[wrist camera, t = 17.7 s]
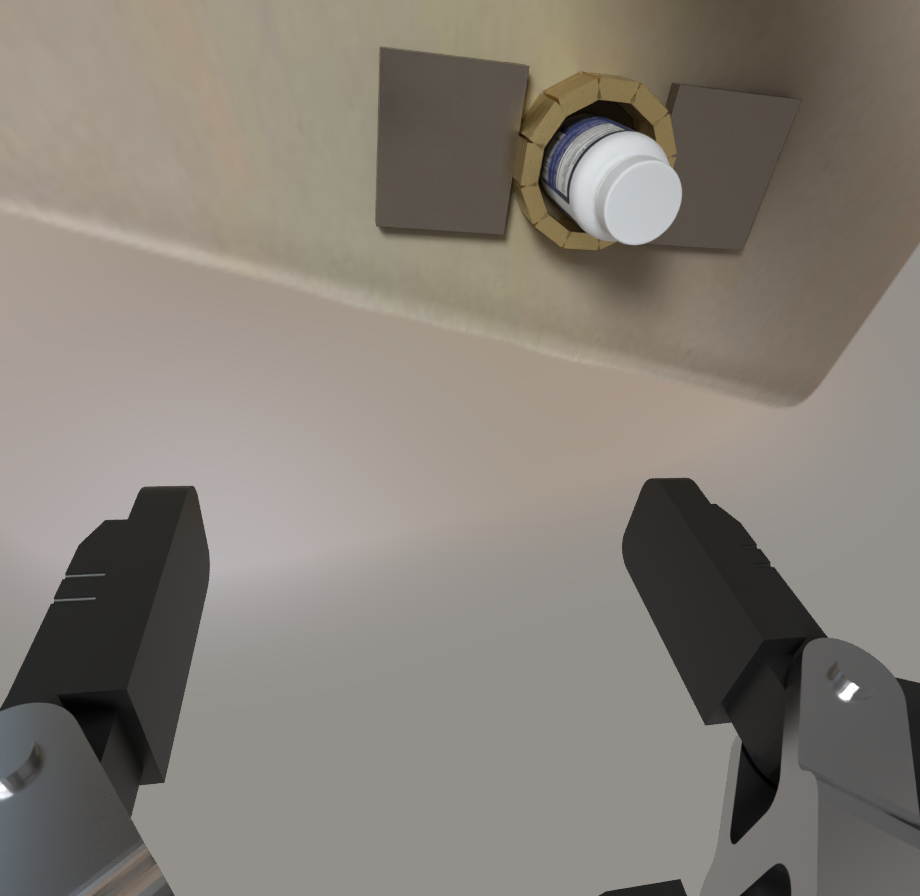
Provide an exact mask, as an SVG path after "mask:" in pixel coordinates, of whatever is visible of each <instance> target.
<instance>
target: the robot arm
mask: <svg viewBox="0 0 920 896" xmlns="http://www.w3.org/2000/svg"><path fill="white" fill-rule="evenodd" d="M756 546H757V544H756V543H755V541H754V540H753V539H752V538H751V536H750V535H749V534H748V532H747V531H746V530H745V529H744V527H743V526H742V524H741V523H740V522H739V521H737V520H736V519H735V518H733V517H732V516H731V515H730V514H728V513H727V512H726V511H724V510H723V509H722V508H721V507H719V506H718V505H717V504H710V502H709V501H708V499H707V498H706V497H705V495H704V494H703V493H702V491H701V490H700V489H699V487H698V486H697V484H696V483H695V482H694V481H693V480H691V479H689V478H652V479H649V480H647V481H646V482H645V483H644V485H643V487H642V489H641V492H640V494H639V497H638V500H637V502H636V505H635V507H634V510H633V513H632V515H631V518H630V520H629V523H628V525H627V528H626V531H625V533H624V536H623V542H622V553H623V559H624V563H625V566H626V568H627V570H628V572H629V574H630V576H631V578H632V580H633V582H634V584H635V586H636V588H637V590H638V592H639V594H640V596H641V598H642V600H643V602H644V604H645V606H646V608H647V610H648V612H649V614H650V616H651V618H652V620H653V622H654V624H655V626H656V628H657V630H658V632H659V634H660V636H661V638H662V640H663V642H664V644H665V646H666V648H667V650H668V652H669V654H670V656H671V658H672V660H673V662H674V664H675V666H676V668H677V670H678V672H679V674H680V676H681V678H682V680H683V682H684V684H685V686H686V688H687V690H688V692H689V694H690V696H691V698H692V700H693V702H694V704H695V706H696V708H697V709H698V712H699V714H700V715H701V718H702V720H703V721H704V723H705V725H713V724H722V723H730V722H732V724H733V726H734V728H735V729H736V731H737V733H738V735H737V736H736V738H735V739H734V741H733V744H732V748H731V754H730V761H729V768H728V775H727V782H726V789H725V796H724V803H723V810H722V817H721V824H720V831H719V838H718V845H717V849H716V853H715V857H714V860H713V863H712V865H711V867H710V869H709V872H708V874H707V876H706V878H705V881H704V884H703V886H702V889H701V893H700V896H920V683H917V682H913V681H908V680H903V679H899V678H895V677H894V676H893V675H892V673H891V672H890V671H889V670H888V669H887V668H886V667H885V666H884V665H883V664H882V663H881V662H880V661H879V660H877V659H876V658H875V657H873V656H872V655H871V654H869V653H868V652H866V651H864V650H863V649H861V648H859V647H857V646H855V645H853V644H851V643H848V642H846V641H842V640H839V639H834V638H828V637H827V636H826V635H825V633H824V632H823V631H822V629H821V628H820V627H819V625H818V624H817V623H816V622H815V620H814V619H813V618H812V616H811V615H810V614H809V613H808V611H807V610H806V608H805V607H804V606H803V605H802V603H801V602H800V601H799V599H798V598H797V597H796V595H795V594H794V593H793V591H792V590H791V589H790V587H789V586H788V585H787V583H786V582H785V581H784V580H783V579H782V577H781V576H780V574H779V573H778V572H777V571H776V569H775V568H774V567H771V566H770V561H769V560H768V559H767V557H766V556H765V555H764V553H763V552H762V551H761V549H757V547H756ZM209 570H210V562H209V550H208V545H207V540H206V535H205V530H204V525H203V520H202V515H201V510H200V505H199V500H198V495H197V492H196V489H195V488H194V486H158V487H143V488H142V489H141V490H140V491H139V493H138V495H137V498H136V500H135V503H134V505H133V508H132V510H131V513H130V515H129V518H128V519H127V520H105V521H104V522H103V523H102V524H101V525H100V526H99V527H98V528H97V529H95V530H94V531H93V532H92V533H91V534H90V535H89V536H88V537H87V538H86V539H85V540H84V541H83V542H82V543H81V544H80V545H79V546H78V548H77V550H76V552H75V554H74V557H73V559H72V561H71V563H70V565H69V567H68V569H67V571H66V573H65V574H66V578H65V579H63V580H62V582H61V584H60V586H59V588H58V590H57V592H56V594H55V597H54V604H51V605H50V607H49V609H48V612H47V614H46V616H45V618H44V620H43V622H42V624H41V626H40V628H39V630H38V632H37V635H36V637H35V639H34V641H33V643H32V645H31V647H30V649H29V651H28V654H27V656H26V658H25V660H24V662H23V664H22V666H21V668H20V670H19V672H18V675H17V677H16V679H15V681H14V683H13V685H12V687H11V689H10V691H9V694H8V696H7V698H6V699H5V701H4V703H3V705H2V706H1V708H0V896H175V895H174V893H173V892H172V890H171V888H170V886H169V885H168V883H167V881H166V879H165V878H164V876H163V874H162V872H161V870H160V868H159V867H158V865H157V863H156V862H155V860H154V858H153V857H152V855H151V854H150V852H149V850H148V848H147V847H146V845H145V843H144V841H143V840H142V838H141V836H140V834H139V832H138V831H137V829H136V827H135V825H134V823H133V821H132V820H131V815H132V811H133V807H134V803H135V799H136V795H137V791H138V787H139V785H146V784H156V783H164V782H165V777H166V773H167V768H168V764H169V759H170V755H171V750H172V746H173V741H174V737H175V732H176V728H177V723H178V719H179V714H180V710H181V705H182V701H183V696H184V692H185V687H186V683H187V678H188V674H189V669H190V665H191V660H192V656H193V651H194V647H195V642H196V637H197V633H198V629H199V624H200V620H201V615H202V611H203V606H204V601H205V597H206V593H207V588H208V582H209ZM599 896H687V895H686V892H685V890H684V887H683V885H682V882H681V880H680V879H678V880H672V881H666V882H661V883H655V884H649V885H642V886H636V887H630V888H625V889H618V890H613V891H606V892H604V893H603V894H601V895H599Z"/></svg>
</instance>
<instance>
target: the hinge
mask: <svg viewBox="0 0 920 896" xmlns="http://www.w3.org/2000/svg"><path fill="white" fill-rule="evenodd" d="M528 73H529V66H527V65H524V64H516V63H508V62H500V61H492V60H484V59H476V58H468V57H460V56H452V55H444V54H436V53H428V52H420V51H412V50H404V49H396V48H387V47H380V58H379V98H378V137H377V176H376V215H375V222H376V226H380V227H395V228H411V229H426V230H441V231H457V232H472V233H487V234H503V235H504V229H505V223H506V216H507V210H508V203H509V197H510V190H511V184H512V186H513V189H514V192H515V195H516V198H517V200H518V203H519V206H520V209H521V211H522V212H523V214H524V215H525V216H526V217H527V218H528V219H529V221H530V222H531V223H532V224H533V225H534V226H535V227H536V228H537V229H538V230H540V231H541V232H542V233H543V234H545V235H546V236H547V237H549V238H550V239H551V240H552V241H554V242H555V243H556V244H558V245H559V246H560V247H563V248H567V249H583V250H598V248H599V249H600V250H601V249H603V248H605V247H607V246H609V245H611V244H613V243H616V242H618V241H603V240H600V239H597V238H594V237H593V236H591V235H589V234H588V233H586V232H585V231H584V230H583V229H581V228H580V227H579V226H578V225H577V224H576V223H575V222H574V221H573V220H572V219H570V218H556V217H555V216H553V215H552V214H551V213H550V212H548V211H547V210H546V207H545V204H544V201H543V198H542V195H541V192H540V189H539V186H538V180H539V174H540V169H541V163H542V158H543V152H544V147H545V146H546V145H547V143H548V142H549V140H550V139H551V138H552V136H553V135H554V133H555V132H556V131H557V129H558V128H559V126H560V125H561V123H562V122H563V121H564V119H565V118H566V116H568V115H570V114H572V113H574V112H576V111H578V110H580V109H582V108H584V107H586V106H588V105H590V104H591V103H593V102H595V101H597V100H607V101H615V102H618V103H619V104H620V105H621V106H622V107H623V108H624V109H625V110H626V111H627V112H628V113H629V114H630V115H631V116H632V118H633V122H634V127H635V131H637V132H640V133H642V134H644V135H646V136H648V137H650V138H651V139H653V140H654V141H655V142H657V143H658V144H659V145H660V147H661V148H662V149H663V151H664V152H665V154H666V156H667V159H668V161H669V164H670V167H672V168H673V169H674V170H675V172H676V173H677V175H678V177H679V179H680V182H681V187H682V200H681V205H680V208H679V211H678V213H677V215H676V218H675V219H674V221H673V222H672V224H671V225H670V226H669V228H668V229H667V230H666V231H665V232H664V233H663V234H661V235H660V236H659V237H657V238H656V239H654V240H652V241H650V242H648V243H645V244H656V245H672V246H687V247H702V248H718V249H733V250H742V249H743V247H744V244H745V241H746V239H747V236H748V234H749V231H750V229H751V226H752V224H753V221H754V219H755V216H756V214H757V211H758V209H759V206H760V204H761V201H762V198H763V196H764V193H765V191H766V188H767V186H768V183H769V181H770V178H771V176H772V173H773V171H774V168H775V166H776V163H777V161H778V158H779V155H780V153H781V150H782V148H783V145H784V143H785V140H786V138H787V135H788V133H789V130H790V128H791V125H792V123H793V120H794V118H795V115H796V112H797V110H798V107H799V105H800V102H801V100H799V99H795V98H789V97H781V96H773V95H765V94H757V93H749V92H741V91H733V90H725V89H717V88H709V87H701V86H693V85H685V84H677V83H672V86H671V90H670V93H669V97H668V100H667V104H666V108H665V107H664V106H663V105H662V104H661V103H660V102H659V101H658V100H657V98H656V97H655V96H654V95H653V94H652V93H651V92H650V91H649V90H648V89H647V88H646V87H645V86H644V85H643V84H641V83H639V82H637V81H633V80H630V79H626V78H623V77H619V76H612V75H604V74H596V73H588V72H582V73H577V74H575V75H573V76H571V77H569V78H567V79H566V80H564V81H562V82H560V83H558V84H556V85H554V86H552V87H550V88H548V89H546V90H545V91H543V93H544V95H542V94H540V95H539V96H538V98H537V99H536V101H535V102H534V104H533V105H532V107H531V108H530V110H529V111H528V113H527V114H526V116H525V117H524V118H523V120H522V121H521V118H522V112H523V105H524V99H525V92H526V86H527V79H528ZM519 132H520V133H519Z"/></svg>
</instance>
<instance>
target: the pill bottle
mask: <svg viewBox="0 0 920 896" xmlns="http://www.w3.org/2000/svg"><path fill="white" fill-rule="evenodd" d="M539 175H540V180H541V184H542V186H543V188H544V190H545V192H546V193H547V195H548V196H549V197H550V199H551V200H552V201H553V202H554V203H555V204H556V205H557V206H558V207H559V208H560V209H561V210H563V211H564V212H565V213H566V214H567V215H568V216H569V217H570V218H571V219H572V220H573V221H574V222H575V223H576V224H577V225H578V226H579V227H580V228H581V229H583V230H584V231H585V232H586V233H588V234H589V235H591V236H593V237H594V238H597V239H600V240H603V241H619V242H621V243H623V244H627V245H641V244H645V243H648V242H650V241H652V240H654V239H656V238H657V237H659V236H660V235H661V234H663V233H664V232H665V231H666V230H667V229H668V228H669V226H670V225H671V224H672V222H673V221H674V219H675V218H676V215H677V213H678V211H679V208H680V205H681V200H682V187H681V182H680V179H679V177H678V175H677V173H676V172H675V170H674V169H673V168H672V167H670V164H669V161H668V159H667V156H666V154H665V152H664V151H663V149H662V148H661V147H660V145H659V144H658V143H657V142H655V141H654V140H653V139H651V138H650V137H648V136H646V135H644V134H642V133H640V132H637V131H635V130H633V129H631V128H628V127H626V126H624V125H622V124H619V123H617V122H615V121H613V120H610V119H608V118H606V117H603V116H600V115H597V114H591V113H586V114H579V115H576V116H573V117H571V118H569V119H567V120H565V121H564V122H562V123H561V125H560V126H559V128H558V129H557V131H556V132H555V133H554V135H553V136H552V138H551V139H550V140H549V142H548V143H547V145H546V146H545V147H544V152H543V158H542V163H541V169H540V174H539Z"/></svg>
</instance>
